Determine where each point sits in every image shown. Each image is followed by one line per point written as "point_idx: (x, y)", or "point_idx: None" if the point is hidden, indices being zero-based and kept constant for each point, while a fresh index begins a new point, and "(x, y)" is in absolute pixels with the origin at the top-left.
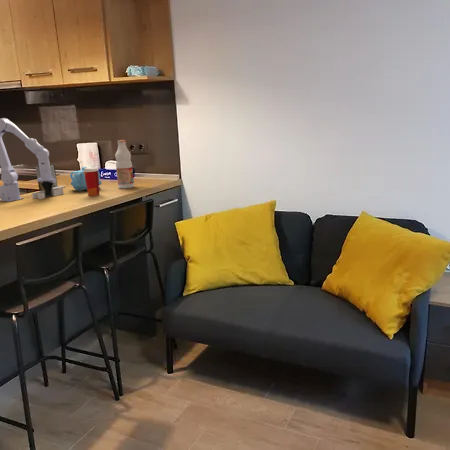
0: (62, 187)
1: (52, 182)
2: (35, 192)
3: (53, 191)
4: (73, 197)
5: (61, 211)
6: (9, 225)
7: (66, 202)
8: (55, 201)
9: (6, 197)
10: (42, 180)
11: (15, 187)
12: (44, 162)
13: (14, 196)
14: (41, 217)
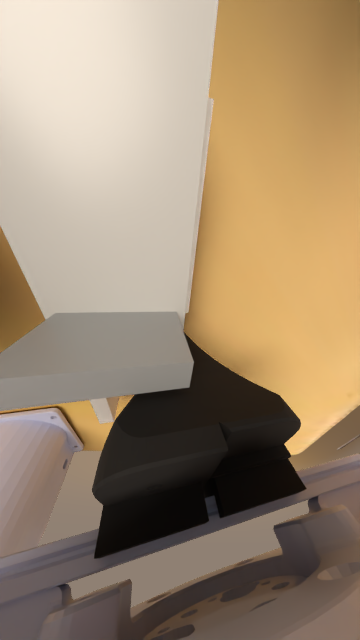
0: (209, 61)
1: (345, 460)
2: (100, 409)
3: (186, 309)
4: (345, 278)
5: (346, 406)
6: (293, 452)
7: (335, 362)
8: (283, 369)
9: (65, 474)
10: (220, 588)
11: (10, 546)
12: None
13: (58, 456)
14: (321, 430)
